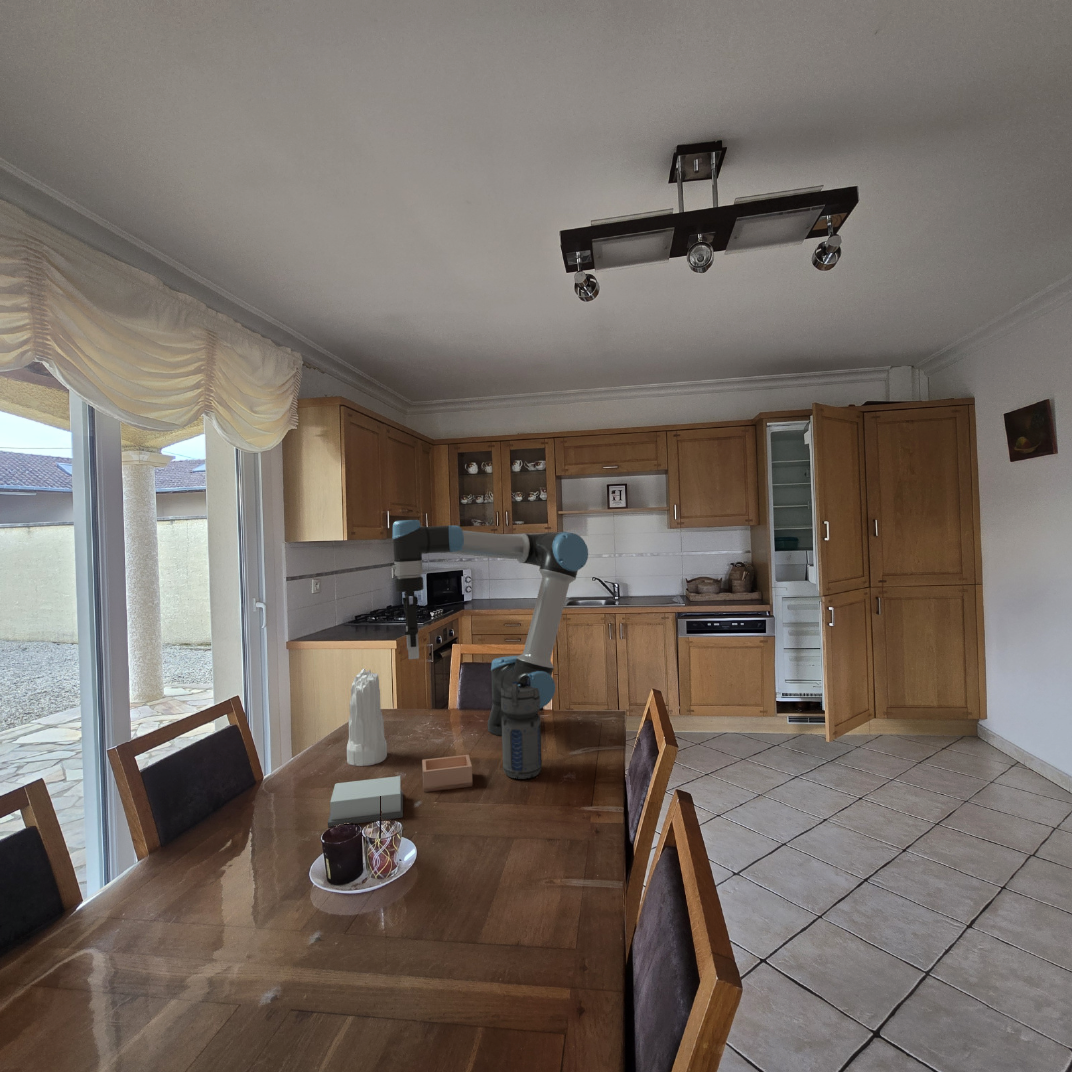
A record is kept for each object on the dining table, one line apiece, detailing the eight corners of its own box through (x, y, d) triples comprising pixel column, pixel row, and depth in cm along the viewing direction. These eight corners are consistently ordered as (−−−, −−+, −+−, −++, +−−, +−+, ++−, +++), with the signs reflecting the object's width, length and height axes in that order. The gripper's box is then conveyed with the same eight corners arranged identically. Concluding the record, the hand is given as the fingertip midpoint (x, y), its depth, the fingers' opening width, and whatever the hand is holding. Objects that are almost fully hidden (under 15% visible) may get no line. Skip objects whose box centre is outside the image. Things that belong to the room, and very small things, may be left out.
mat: (402, 794, 146) (402, 790, 146) (402, 817, 134) (402, 813, 134) (334, 803, 142) (334, 798, 142) (327, 827, 130) (327, 822, 130)
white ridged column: (380, 765, 164) (377, 675, 164) (341, 766, 164) (338, 676, 164) (390, 751, 175) (388, 666, 175) (354, 752, 175) (351, 667, 175)
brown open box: (469, 773, 157) (468, 754, 157) (472, 786, 149) (471, 766, 149) (422, 779, 154) (422, 759, 154) (423, 792, 147) (423, 771, 147)
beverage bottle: (547, 763, 162) (545, 671, 162) (536, 783, 149) (533, 684, 149) (512, 760, 165) (509, 670, 165) (497, 780, 152) (494, 683, 152)
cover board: (400, 792, 145) (400, 776, 144) (400, 811, 135) (399, 793, 135) (335, 800, 141) (335, 783, 141) (330, 820, 132) (330, 802, 132)
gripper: (394, 574, 175) (398, 646, 175) (395, 581, 150) (399, 664, 151) (420, 572, 176) (424, 644, 177) (425, 579, 152) (429, 661, 153)
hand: (413, 653), depth 164 cm, fingers open, 13 cm apart
